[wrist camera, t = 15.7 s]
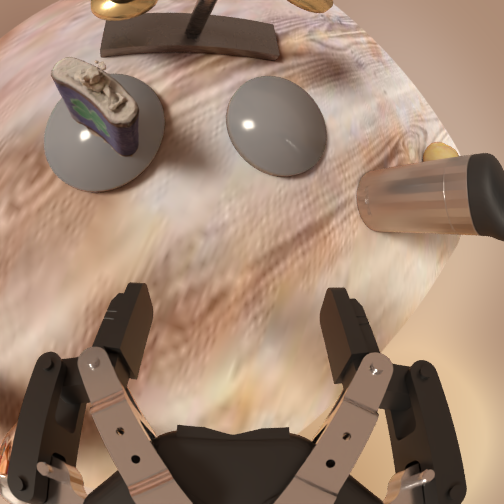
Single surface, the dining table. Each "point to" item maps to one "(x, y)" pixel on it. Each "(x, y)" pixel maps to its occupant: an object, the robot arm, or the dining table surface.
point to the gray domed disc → (276, 126)
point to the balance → (187, 29)
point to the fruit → (439, 152)
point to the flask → (99, 103)
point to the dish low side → (103, 144)
